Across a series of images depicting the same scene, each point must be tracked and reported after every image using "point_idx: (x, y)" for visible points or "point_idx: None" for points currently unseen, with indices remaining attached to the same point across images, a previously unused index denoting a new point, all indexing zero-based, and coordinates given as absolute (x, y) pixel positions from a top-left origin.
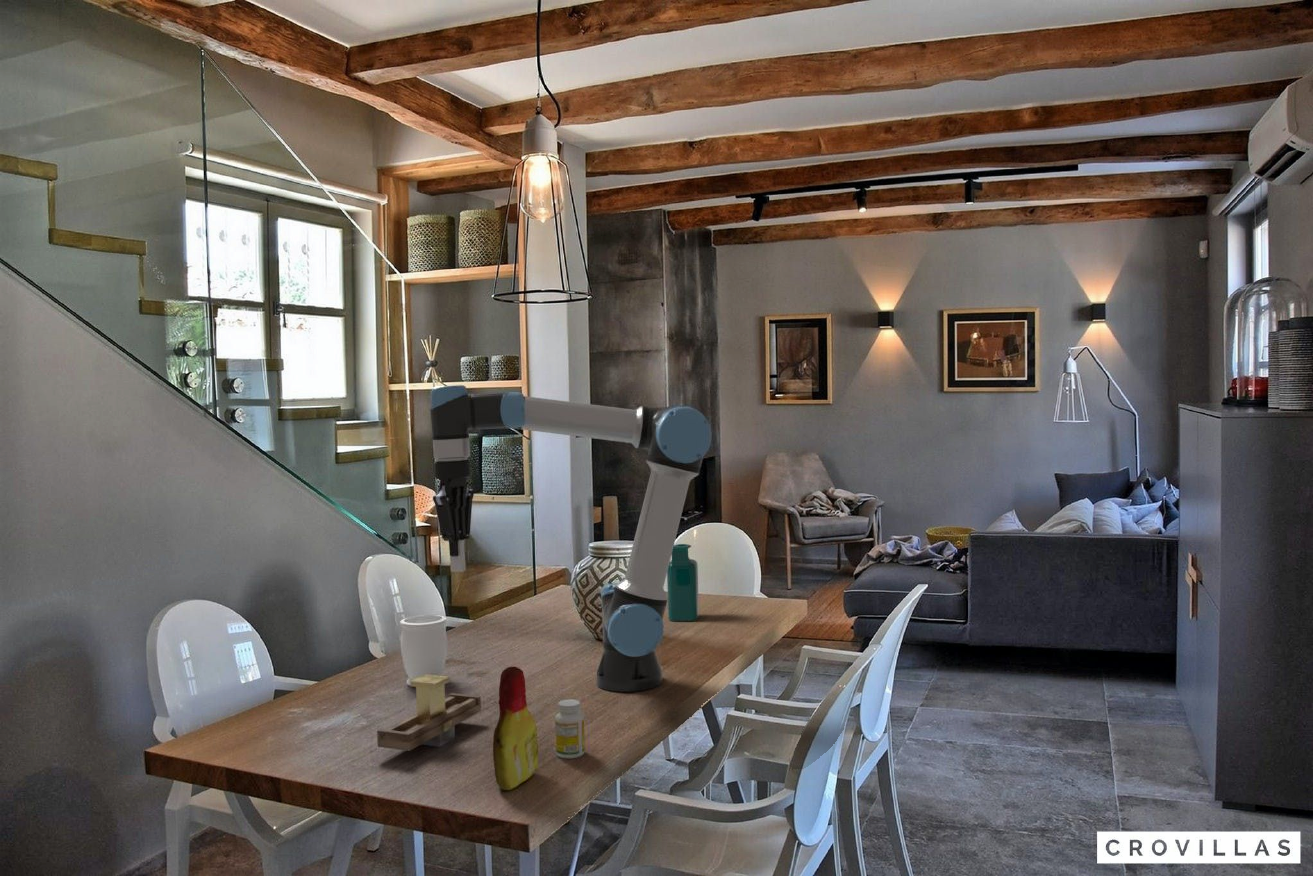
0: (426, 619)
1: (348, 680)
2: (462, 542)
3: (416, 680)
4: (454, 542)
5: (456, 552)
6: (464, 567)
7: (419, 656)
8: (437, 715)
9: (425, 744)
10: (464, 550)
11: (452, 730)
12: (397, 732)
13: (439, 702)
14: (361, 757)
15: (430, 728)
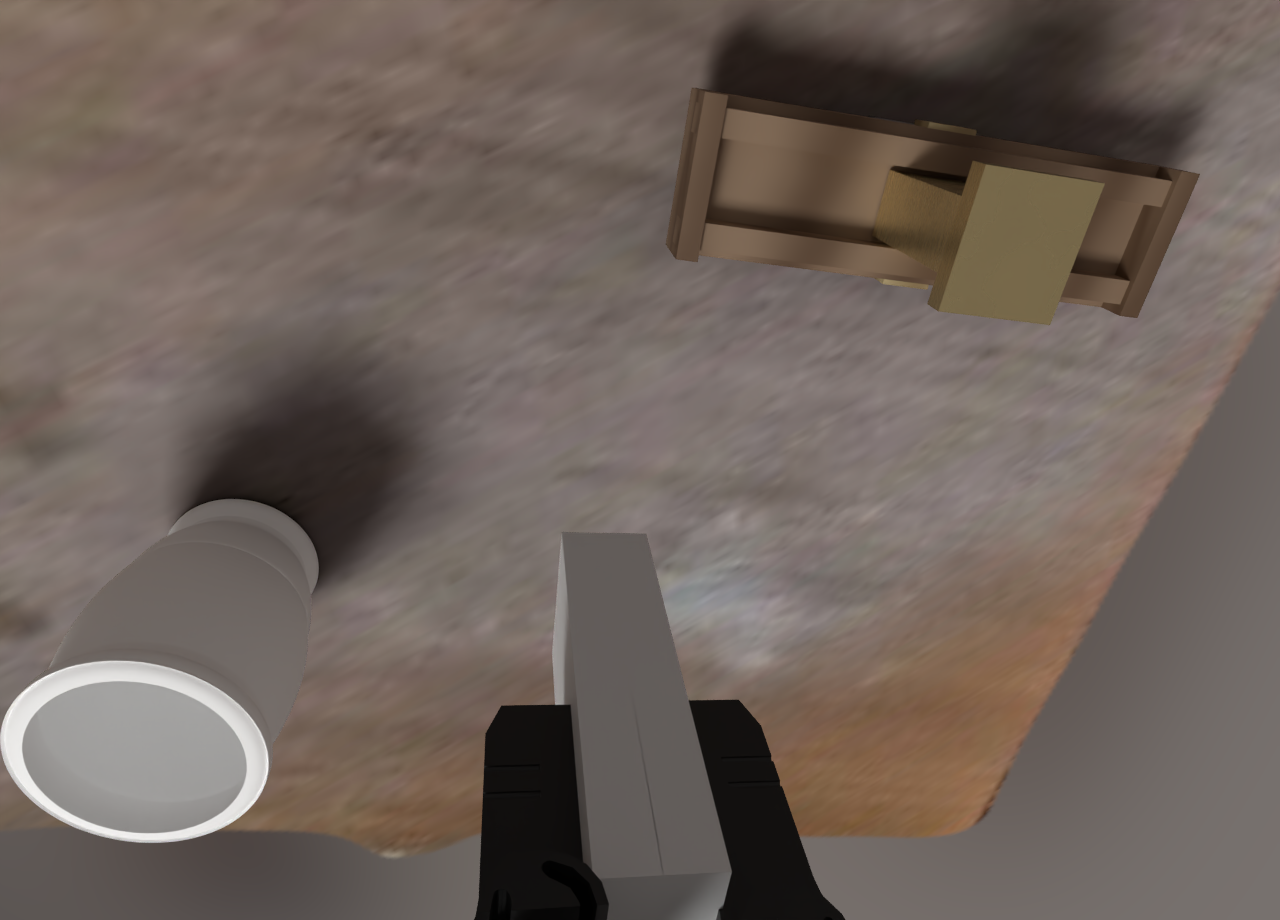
0: (47, 775)
1: (321, 792)
2: (646, 838)
3: (1041, 301)
4: (818, 894)
5: (736, 743)
6: (590, 555)
7: (297, 616)
8: (951, 181)
9: None
10: (583, 715)
11: (897, 121)
12: (1168, 231)
13: (960, 187)
14: (1042, 354)
15: (1040, 158)
